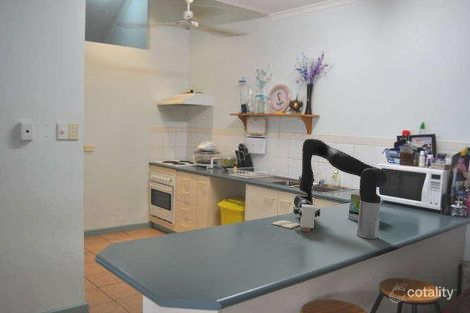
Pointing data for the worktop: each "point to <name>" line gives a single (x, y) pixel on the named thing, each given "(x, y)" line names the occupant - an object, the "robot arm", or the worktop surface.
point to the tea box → (354, 206)
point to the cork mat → (286, 224)
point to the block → (306, 229)
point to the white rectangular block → (307, 216)
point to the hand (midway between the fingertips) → (308, 215)
